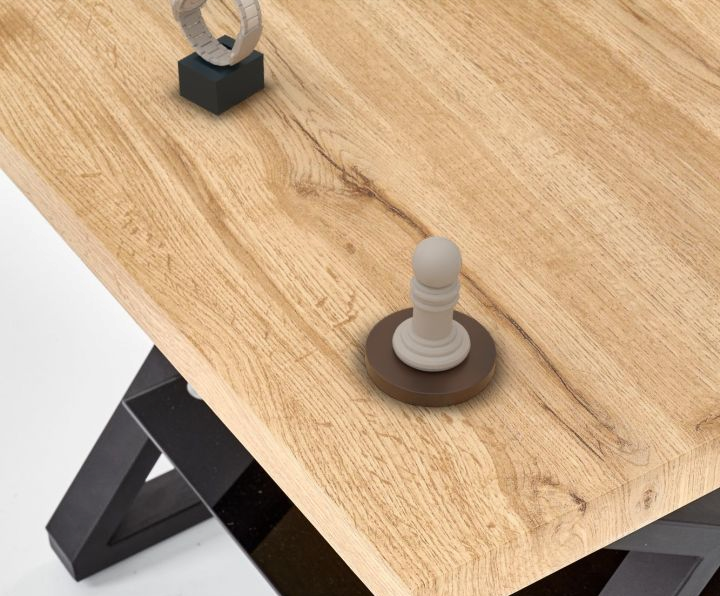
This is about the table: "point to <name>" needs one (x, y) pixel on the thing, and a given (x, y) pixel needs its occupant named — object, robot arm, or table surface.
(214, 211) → the table surface
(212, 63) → the watch
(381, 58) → the table surface
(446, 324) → the chess piece
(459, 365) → the walnut chip
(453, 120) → the table surface
